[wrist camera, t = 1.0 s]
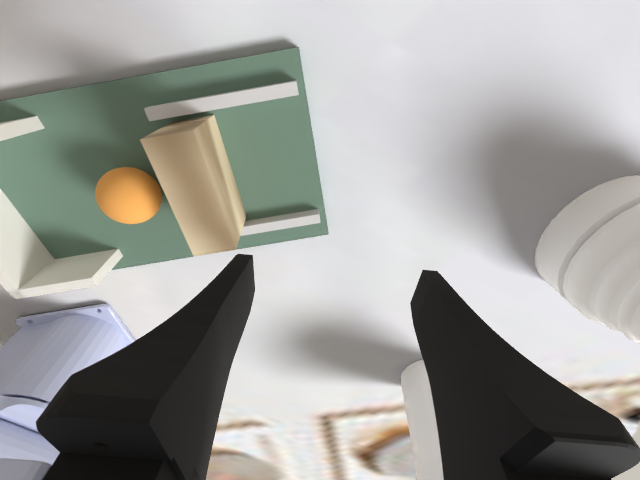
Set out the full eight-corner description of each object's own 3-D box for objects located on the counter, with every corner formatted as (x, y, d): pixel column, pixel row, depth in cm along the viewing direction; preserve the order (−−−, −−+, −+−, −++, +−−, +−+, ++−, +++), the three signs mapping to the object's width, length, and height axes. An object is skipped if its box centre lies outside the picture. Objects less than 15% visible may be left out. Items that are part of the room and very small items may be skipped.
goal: (51, 268, 26) (14, 299, 23) (-56, 132, 20) (-127, 148, 17) (123, 256, 26) (97, 286, 23) (37, 116, 20) (-16, 128, 17)
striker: (211, 222, 25) (193, 256, 21) (171, 122, 21) (139, 139, 17) (246, 216, 25) (236, 249, 21) (214, 114, 21) (192, 130, 17)
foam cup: (410, 402, 43) (449, 523, 32) (375, 373, 39) (406, 500, 28) (471, 374, 40) (537, 495, 29) (441, 339, 36) (504, 465, 25)
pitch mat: (60, 273, 28) (46, 286, 26) (-65, 113, 20) (-95, 117, 19) (327, 229, 27) (329, 240, 26) (298, 47, 20) (298, 46, 18)
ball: (129, 212, 24) (102, 238, 21) (103, 164, 22) (68, 184, 19) (178, 204, 24) (158, 229, 21) (156, 155, 22) (130, 173, 19)
